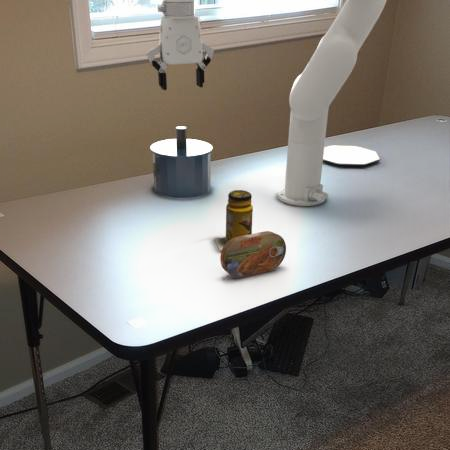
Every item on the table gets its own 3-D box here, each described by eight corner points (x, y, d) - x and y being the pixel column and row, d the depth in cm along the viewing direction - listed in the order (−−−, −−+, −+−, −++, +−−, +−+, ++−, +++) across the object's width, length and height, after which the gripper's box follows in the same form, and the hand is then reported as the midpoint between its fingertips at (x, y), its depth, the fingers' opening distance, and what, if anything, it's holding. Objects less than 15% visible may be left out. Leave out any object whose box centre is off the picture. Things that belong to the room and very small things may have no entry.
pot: (221, 192, 181) (222, 151, 174) (174, 203, 173) (173, 161, 167) (189, 177, 191) (189, 138, 184) (144, 187, 183) (141, 147, 177)
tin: (224, 281, 137) (225, 243, 132) (217, 275, 139) (218, 238, 134) (285, 268, 142) (288, 231, 137) (278, 262, 145) (280, 226, 140)
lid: (225, 154, 175) (225, 130, 171) (172, 164, 166) (172, 139, 163) (189, 139, 185) (189, 116, 182) (138, 149, 177) (137, 125, 173)
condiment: (256, 249, 151) (258, 197, 143) (220, 251, 149) (221, 200, 142) (248, 236, 156) (250, 186, 149) (213, 239, 155) (214, 189, 147)
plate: (382, 169, 201) (383, 164, 200) (319, 167, 201) (319, 162, 200) (372, 150, 216) (372, 146, 215) (313, 149, 216) (313, 144, 215)
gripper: (148, 13, 151) (153, 93, 161) (218, 10, 156) (218, 88, 166) (140, 10, 157) (145, 87, 167) (207, 7, 162) (208, 82, 172)
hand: (181, 87), depth 166 cm, fingers open, 9 cm apart
